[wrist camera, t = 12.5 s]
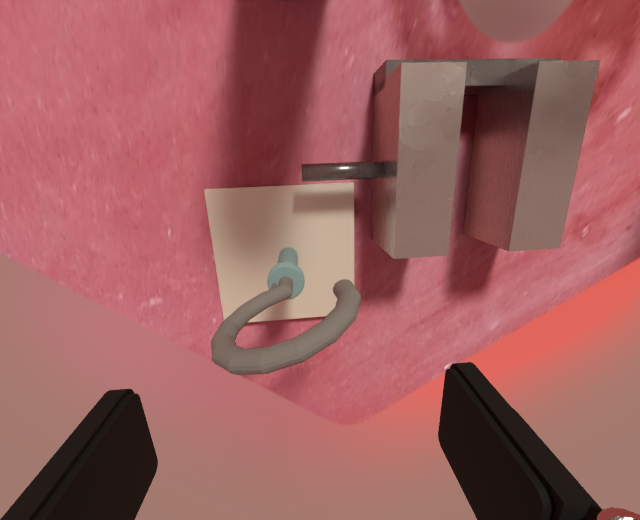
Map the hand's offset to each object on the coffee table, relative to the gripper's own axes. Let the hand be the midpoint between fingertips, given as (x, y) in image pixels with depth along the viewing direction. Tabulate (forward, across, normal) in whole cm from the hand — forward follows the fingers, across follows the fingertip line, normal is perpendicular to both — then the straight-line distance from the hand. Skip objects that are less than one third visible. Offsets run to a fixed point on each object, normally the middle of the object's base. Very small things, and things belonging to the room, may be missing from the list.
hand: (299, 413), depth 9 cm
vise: (+19, -10, -7) cm, 22 cm away
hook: (+18, +1, 0) cm, 18 cm away
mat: (+18, +1, 0) cm, 18 cm away
